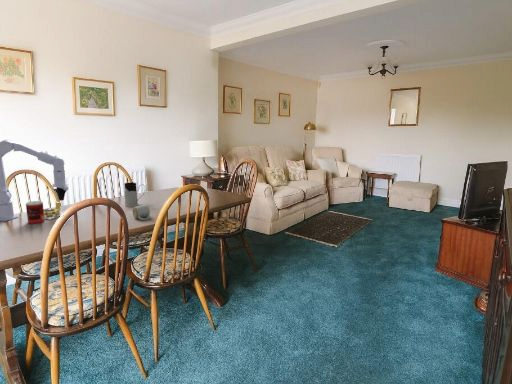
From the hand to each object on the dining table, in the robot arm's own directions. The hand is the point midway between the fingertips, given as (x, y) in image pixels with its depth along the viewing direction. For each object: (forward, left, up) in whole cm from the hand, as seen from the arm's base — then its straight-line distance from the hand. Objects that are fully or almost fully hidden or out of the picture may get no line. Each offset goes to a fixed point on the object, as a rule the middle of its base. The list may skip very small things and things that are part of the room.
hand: (61, 200), depth 192 cm
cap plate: (-3, -6, -8) cm, 11 cm away
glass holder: (+28, +33, -9) cm, 44 cm away
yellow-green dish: (-4, -4, -7) cm, 9 cm away
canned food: (-1, -18, -9) cm, 20 cm away
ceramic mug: (+49, +6, -9) cm, 50 cm away
